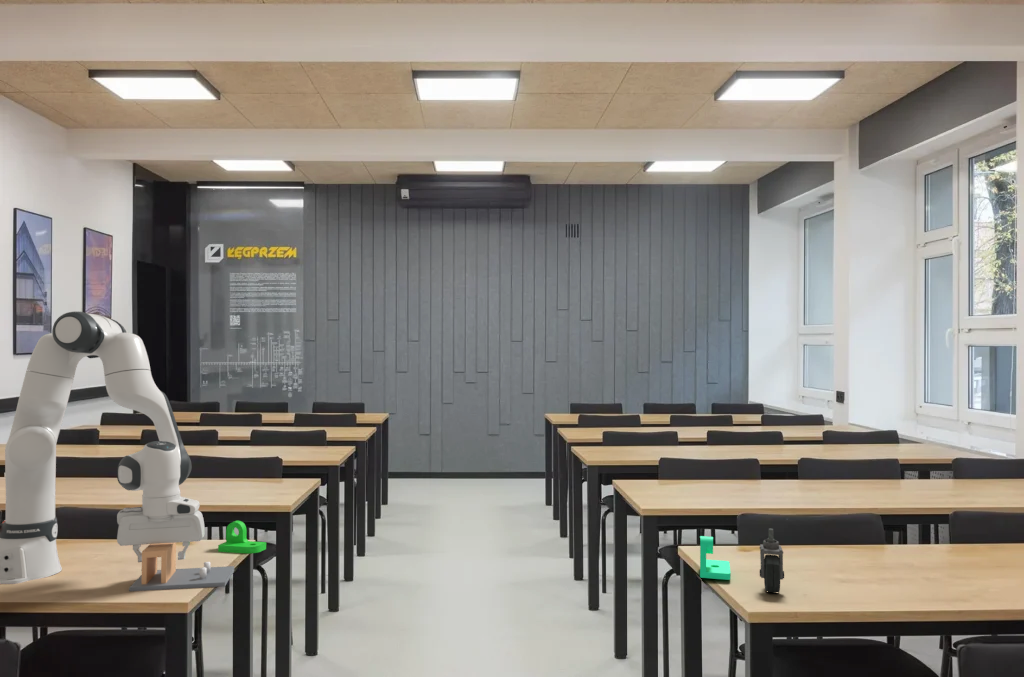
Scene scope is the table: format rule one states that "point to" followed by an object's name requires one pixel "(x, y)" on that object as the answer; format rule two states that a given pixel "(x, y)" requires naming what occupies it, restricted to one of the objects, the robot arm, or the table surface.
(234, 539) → the mechanical part
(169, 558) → the arch block
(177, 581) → the plate
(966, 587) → the table surface
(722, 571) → the camera mount
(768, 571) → the caster wheel
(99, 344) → the robot arm
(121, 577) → the table surface
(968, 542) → the table surface
